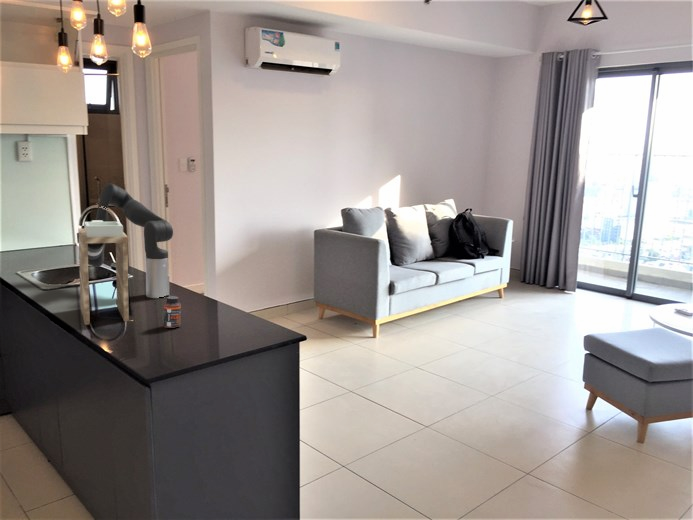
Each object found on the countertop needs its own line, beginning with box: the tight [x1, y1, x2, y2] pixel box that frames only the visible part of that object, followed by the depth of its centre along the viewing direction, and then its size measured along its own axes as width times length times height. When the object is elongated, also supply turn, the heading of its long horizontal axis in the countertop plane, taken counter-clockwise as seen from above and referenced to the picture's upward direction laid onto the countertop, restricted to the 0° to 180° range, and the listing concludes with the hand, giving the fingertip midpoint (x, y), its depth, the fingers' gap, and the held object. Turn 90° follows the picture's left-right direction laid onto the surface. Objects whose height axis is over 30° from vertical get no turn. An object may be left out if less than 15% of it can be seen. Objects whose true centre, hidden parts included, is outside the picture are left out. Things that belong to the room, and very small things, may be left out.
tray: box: [83, 219, 124, 237], centre depth 221 cm, size 12×32×4 cm, turn 28°
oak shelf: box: [77, 227, 130, 325], centre depth 220 cm, size 15×24×32 cm, turn 28°
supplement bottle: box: [163, 295, 182, 329], centre depth 212 cm, size 6×6×11 cm
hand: (96, 231), depth 240 cm, fingers open, 8 cm apart
